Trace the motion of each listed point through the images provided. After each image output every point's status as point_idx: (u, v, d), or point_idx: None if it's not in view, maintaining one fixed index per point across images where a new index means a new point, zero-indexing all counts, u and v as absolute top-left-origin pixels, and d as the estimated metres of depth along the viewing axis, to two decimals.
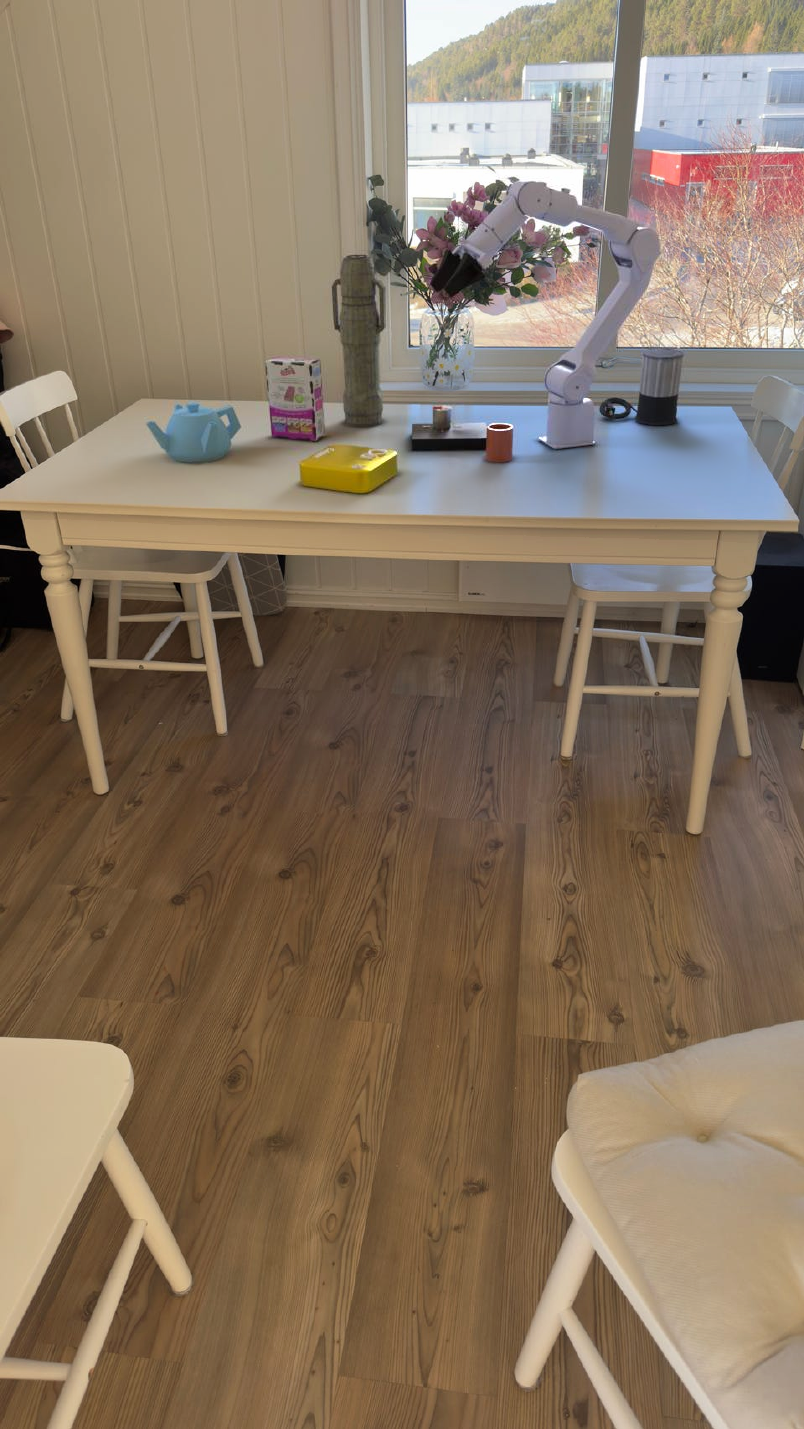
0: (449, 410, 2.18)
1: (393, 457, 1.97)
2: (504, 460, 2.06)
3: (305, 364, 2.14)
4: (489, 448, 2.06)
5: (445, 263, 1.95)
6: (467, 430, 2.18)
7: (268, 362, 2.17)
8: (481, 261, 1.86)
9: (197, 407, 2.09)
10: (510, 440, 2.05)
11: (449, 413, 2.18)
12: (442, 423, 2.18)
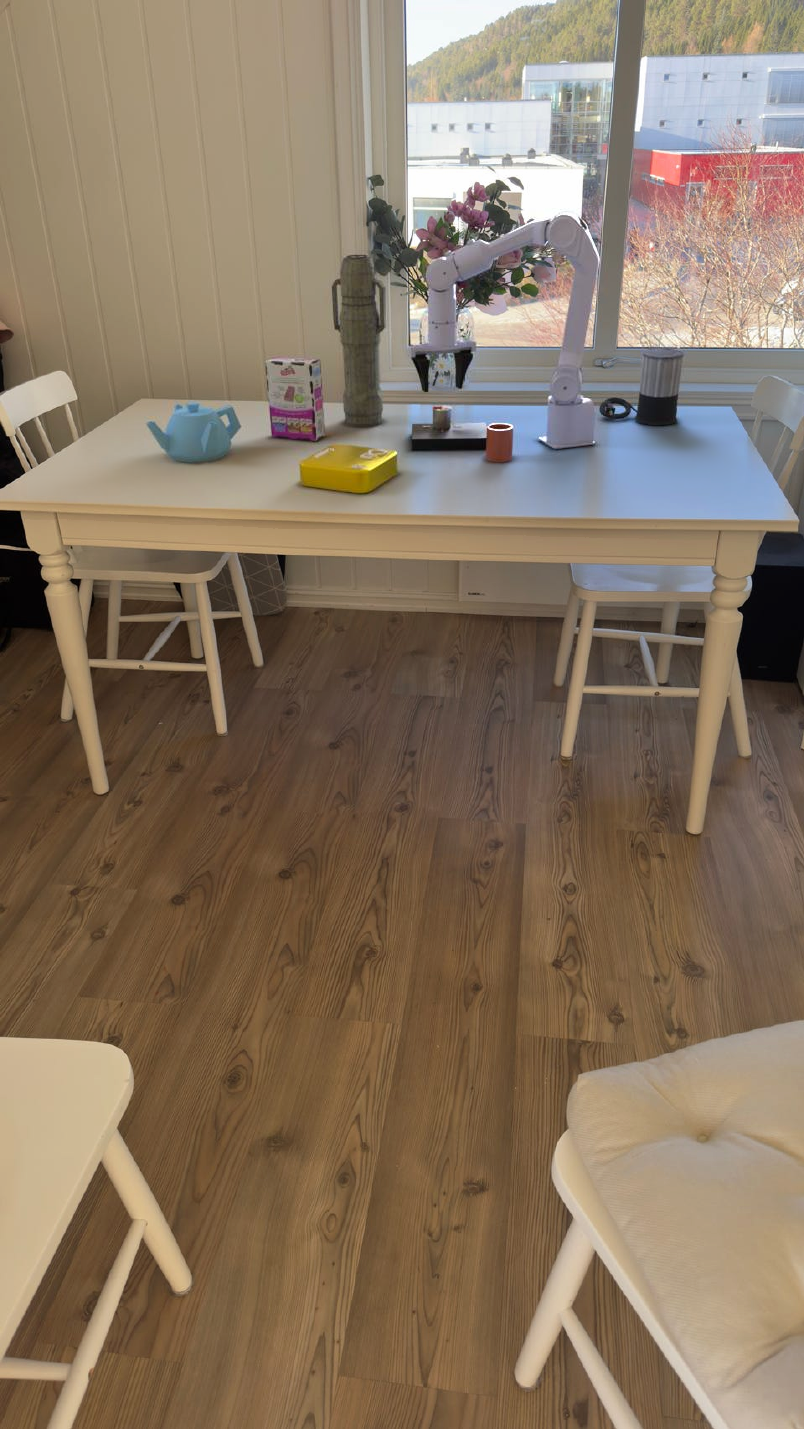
0: (449, 410, 2.18)
1: (393, 457, 1.97)
2: (504, 460, 2.06)
3: (305, 364, 2.14)
4: (489, 448, 2.06)
5: (455, 363, 2.16)
6: (467, 430, 2.18)
7: (268, 362, 2.17)
8: (408, 354, 2.11)
9: (197, 407, 2.09)
10: (510, 440, 2.05)
11: (449, 413, 2.18)
12: (442, 423, 2.18)
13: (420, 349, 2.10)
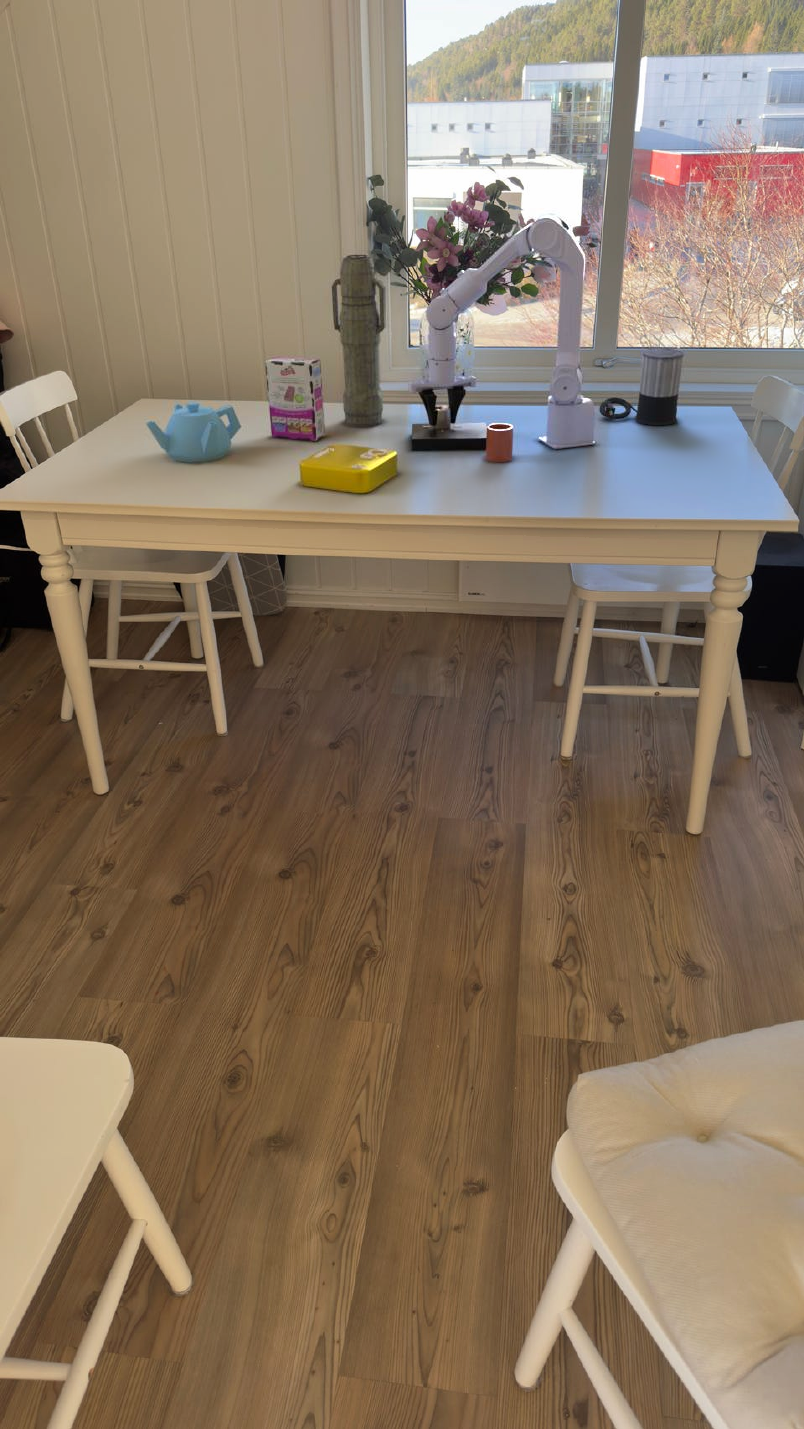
0: (449, 410, 2.18)
1: (393, 457, 1.97)
2: (504, 460, 2.06)
3: (305, 364, 2.14)
4: (489, 448, 2.06)
5: (448, 399, 2.20)
6: (467, 430, 2.18)
7: (268, 362, 2.17)
8: (409, 390, 2.15)
9: (197, 407, 2.09)
10: (510, 440, 2.05)
11: (449, 413, 2.18)
12: (442, 423, 2.18)
13: (420, 385, 2.13)
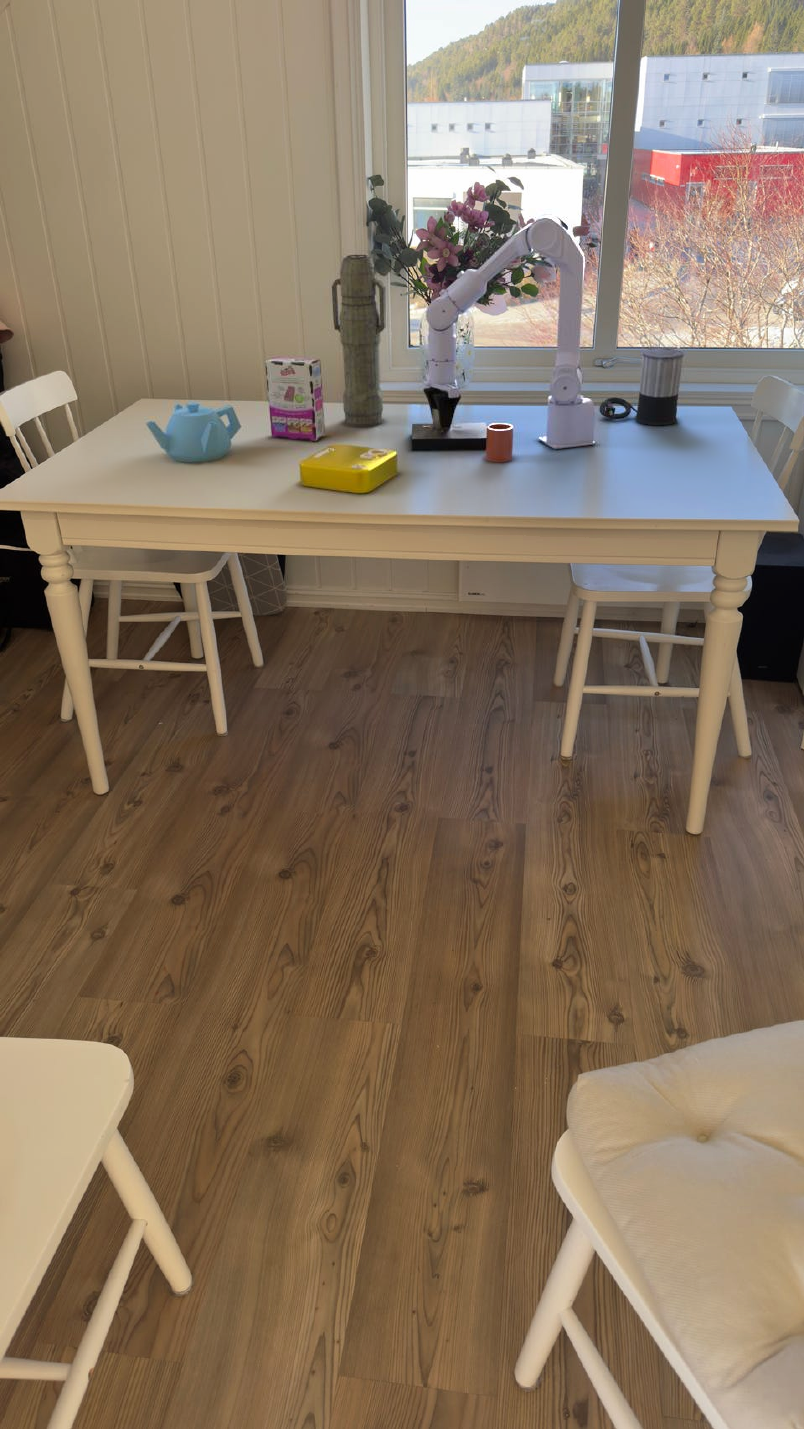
0: None
1: (393, 457, 1.97)
2: (504, 460, 2.06)
3: (305, 364, 2.14)
4: (489, 448, 2.06)
5: (431, 401, 2.19)
6: (467, 430, 2.18)
7: (268, 362, 2.17)
8: (451, 396, 2.10)
9: (197, 407, 2.09)
10: (510, 440, 2.05)
11: None
12: None
13: None
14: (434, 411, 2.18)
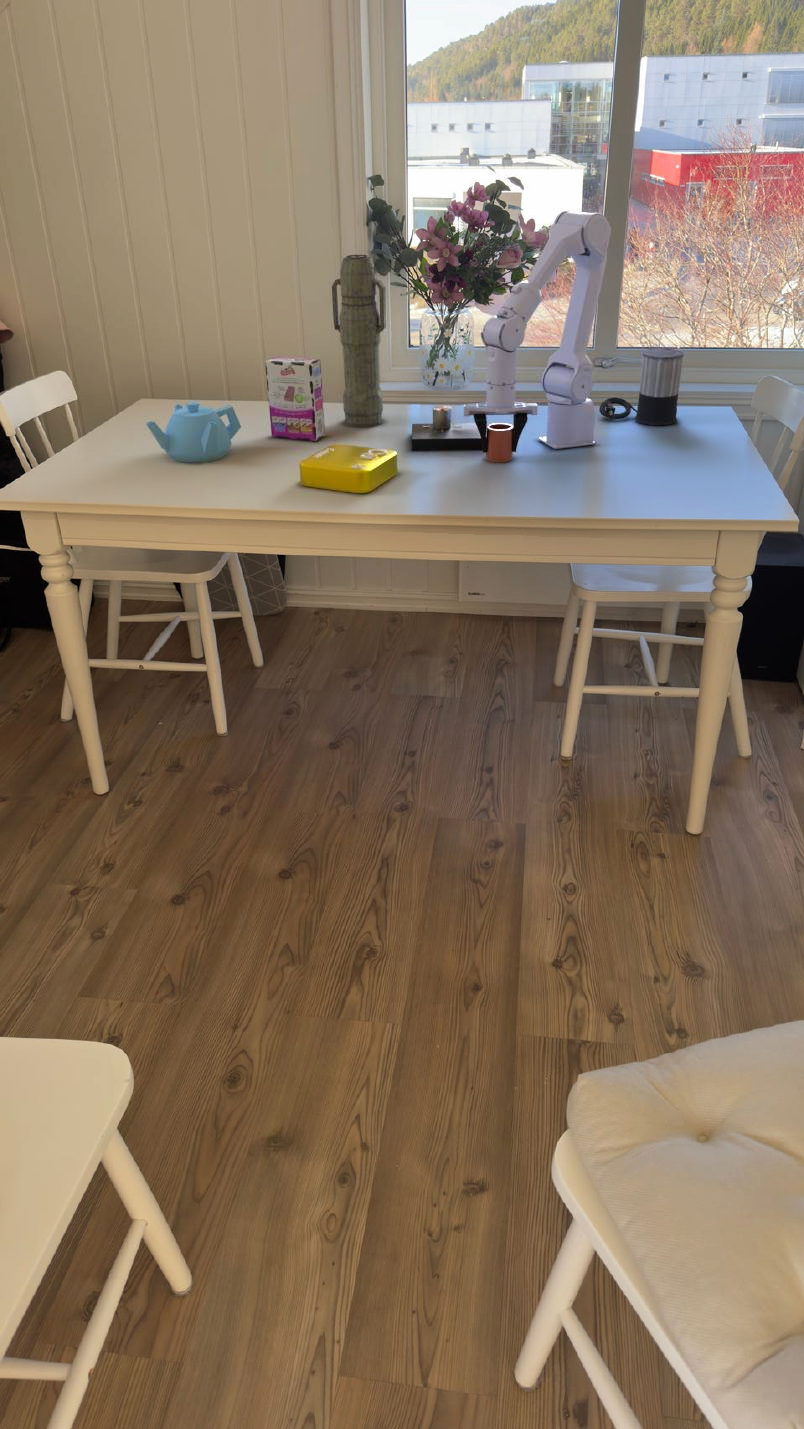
0: None
1: (393, 457, 1.97)
2: (504, 460, 2.06)
3: (305, 364, 2.14)
4: (489, 448, 2.06)
5: (486, 430, 2.04)
6: (467, 430, 2.18)
7: (268, 362, 2.17)
8: None
9: (197, 407, 2.09)
10: (510, 440, 2.05)
11: None
12: None
13: None
14: (434, 411, 2.18)
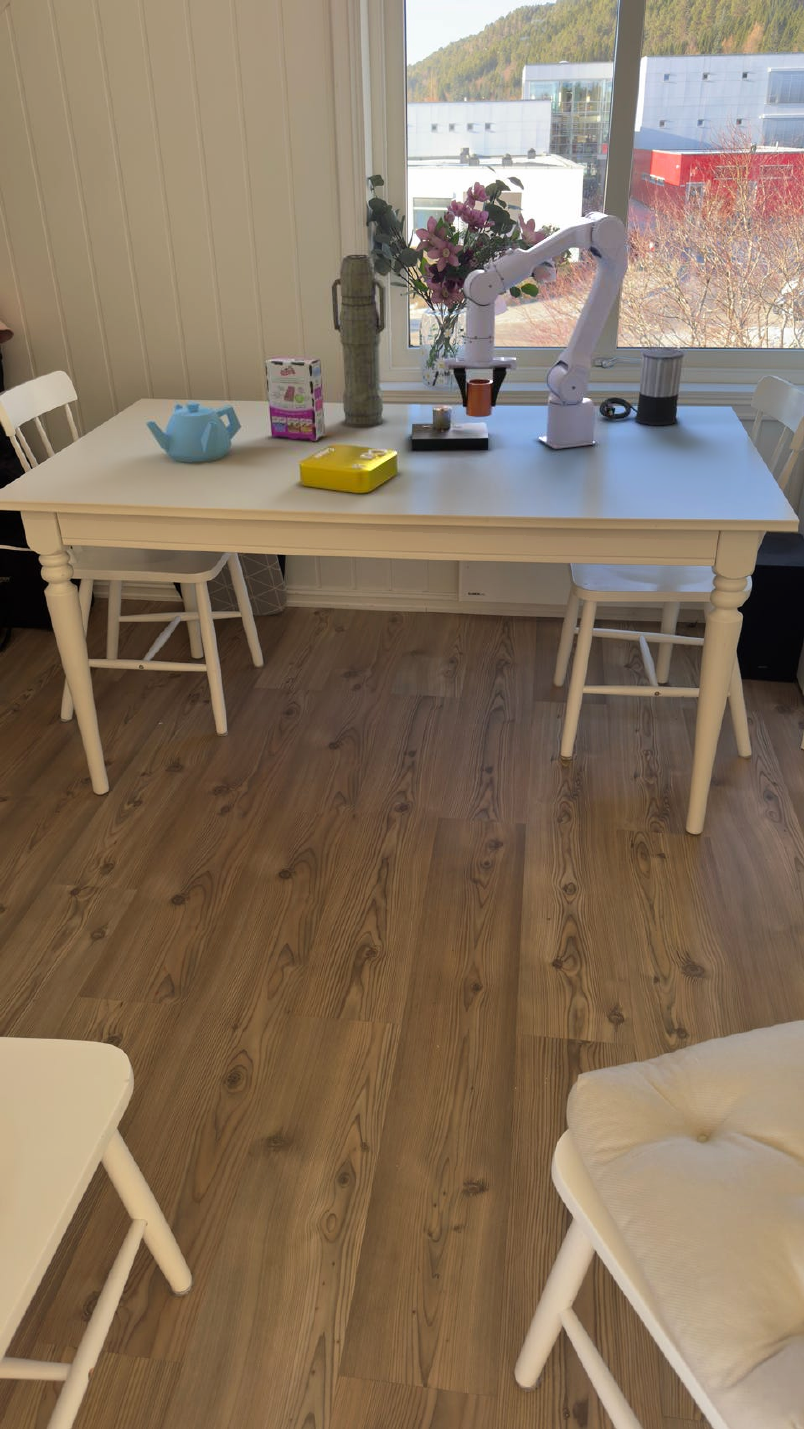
0: None
1: (393, 457, 1.97)
2: (484, 414, 2.09)
3: (305, 364, 2.14)
4: (469, 403, 2.08)
5: (465, 384, 2.06)
6: (467, 430, 2.18)
7: (268, 362, 2.17)
8: (515, 367, 2.06)
9: (197, 407, 2.09)
10: (489, 394, 2.07)
11: None
12: None
13: None
14: (434, 411, 2.18)
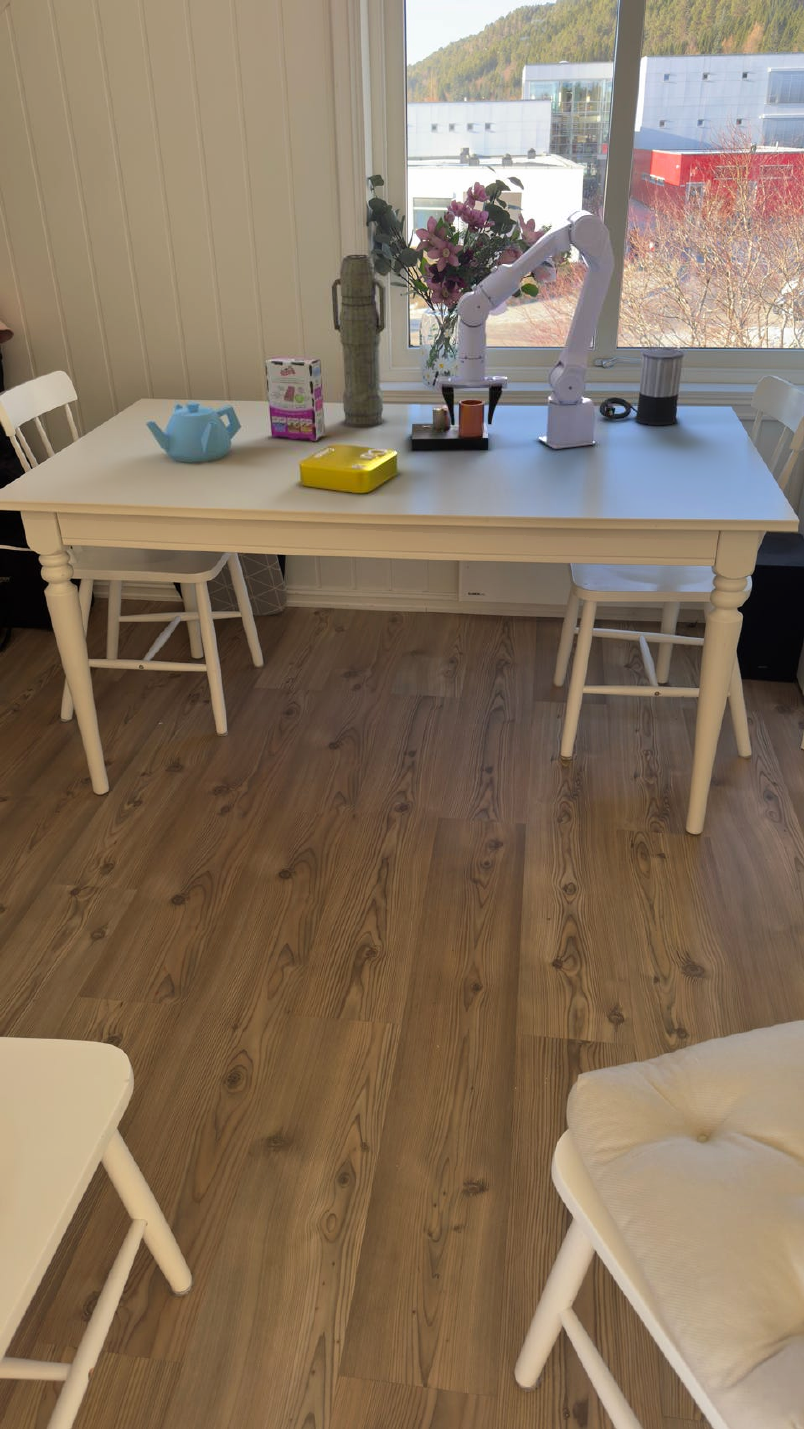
0: None
1: (393, 457, 1.97)
2: (476, 435, 2.13)
3: (305, 364, 2.14)
4: (461, 423, 2.13)
5: (453, 403, 2.11)
6: None
7: (268, 362, 2.17)
8: None
9: (197, 407, 2.09)
10: (481, 415, 2.12)
11: None
12: None
13: None
14: (434, 411, 2.18)
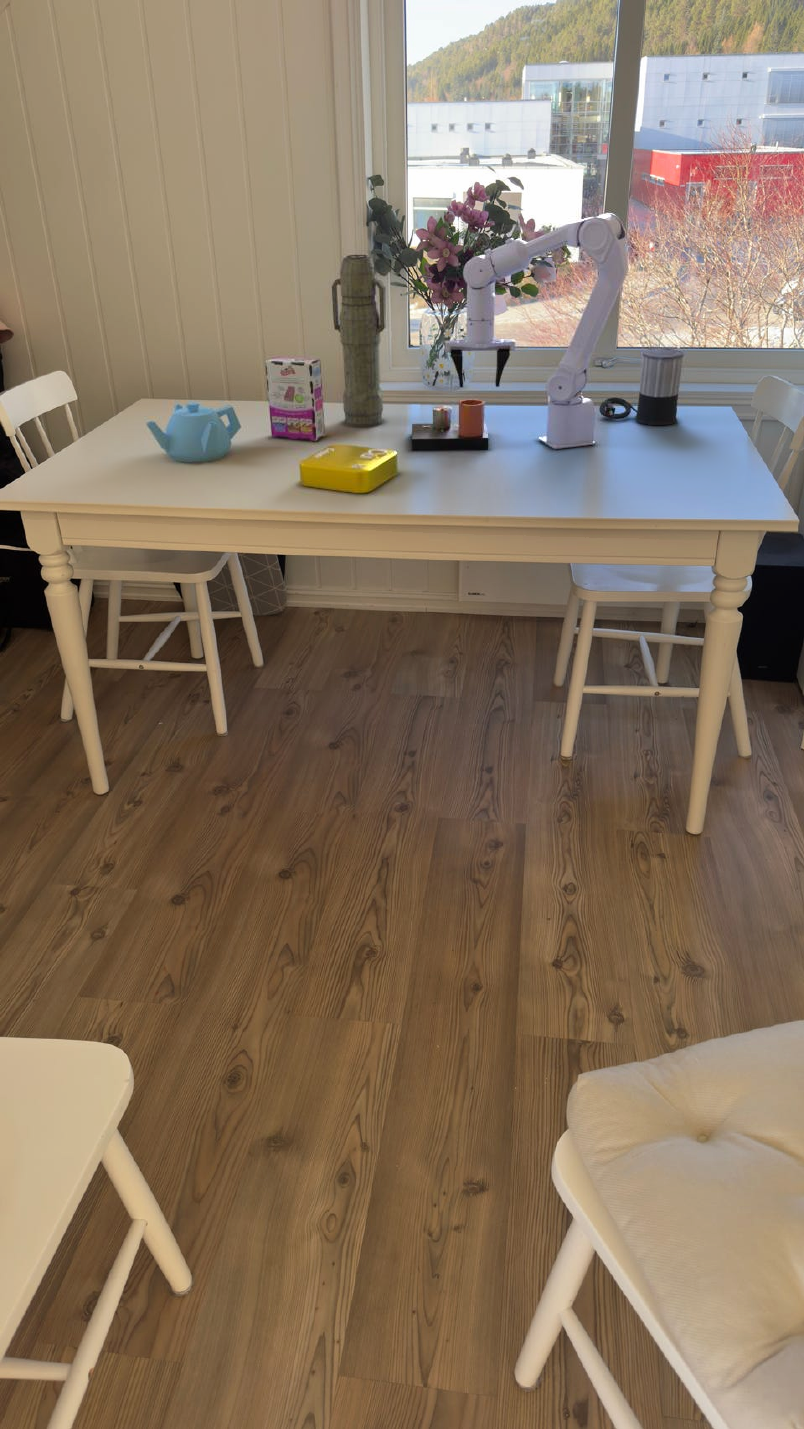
0: None
1: (393, 457, 1.97)
2: (476, 435, 2.13)
3: (305, 364, 2.14)
4: (461, 423, 2.13)
5: (462, 365, 2.15)
6: None
7: (268, 362, 2.17)
8: (514, 348, 2.14)
9: (197, 407, 2.09)
10: (481, 415, 2.12)
11: None
12: None
13: None
14: (434, 411, 2.18)
